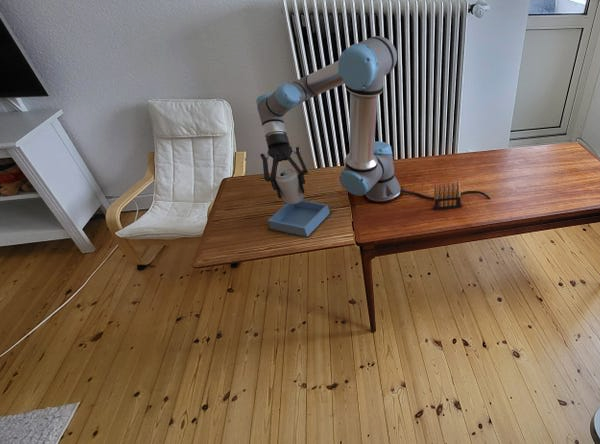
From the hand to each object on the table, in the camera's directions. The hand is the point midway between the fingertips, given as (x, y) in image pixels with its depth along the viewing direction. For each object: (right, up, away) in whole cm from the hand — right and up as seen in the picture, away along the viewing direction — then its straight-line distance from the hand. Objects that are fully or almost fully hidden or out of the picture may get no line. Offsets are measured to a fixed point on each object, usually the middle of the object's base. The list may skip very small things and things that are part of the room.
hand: (291, 195), depth 136 cm
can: (-1, -2, +5) cm, 6 cm away
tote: (-1, -9, +11) cm, 15 cm away
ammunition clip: (+57, -4, +17) cm, 59 cm away
